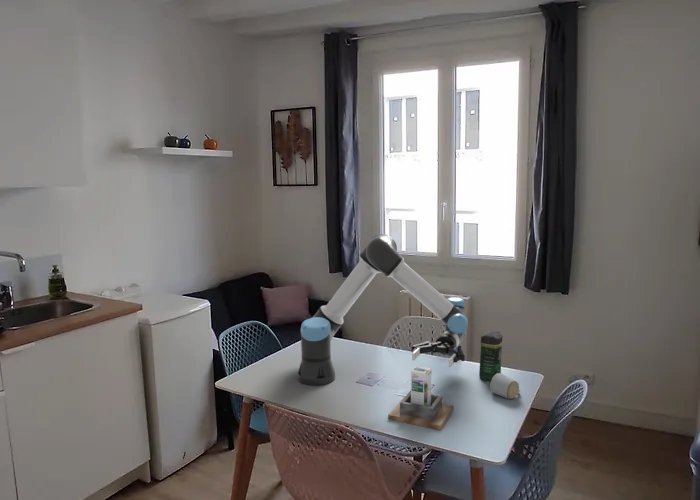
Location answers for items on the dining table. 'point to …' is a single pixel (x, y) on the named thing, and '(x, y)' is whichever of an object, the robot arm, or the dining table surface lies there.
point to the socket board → (422, 412)
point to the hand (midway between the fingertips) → (431, 360)
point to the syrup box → (421, 386)
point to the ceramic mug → (504, 386)
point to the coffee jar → (490, 355)
